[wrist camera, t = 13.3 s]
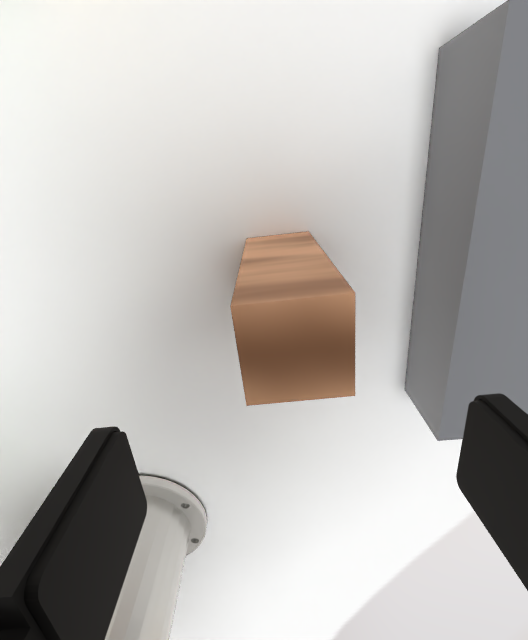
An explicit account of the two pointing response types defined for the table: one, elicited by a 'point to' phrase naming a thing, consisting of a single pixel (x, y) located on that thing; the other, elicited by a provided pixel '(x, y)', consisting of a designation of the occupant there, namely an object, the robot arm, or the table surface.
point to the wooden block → (293, 322)
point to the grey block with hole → (474, 228)
